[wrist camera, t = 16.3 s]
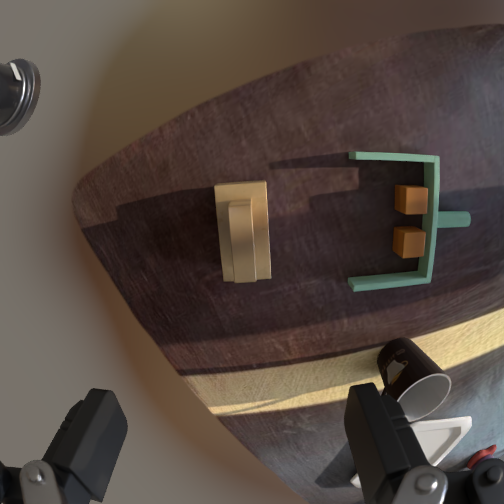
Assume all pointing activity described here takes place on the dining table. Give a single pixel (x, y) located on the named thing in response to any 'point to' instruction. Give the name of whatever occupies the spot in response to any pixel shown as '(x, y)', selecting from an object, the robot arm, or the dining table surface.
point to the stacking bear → (481, 457)
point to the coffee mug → (412, 378)
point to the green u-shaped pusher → (428, 225)
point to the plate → (436, 438)
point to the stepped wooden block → (243, 230)
